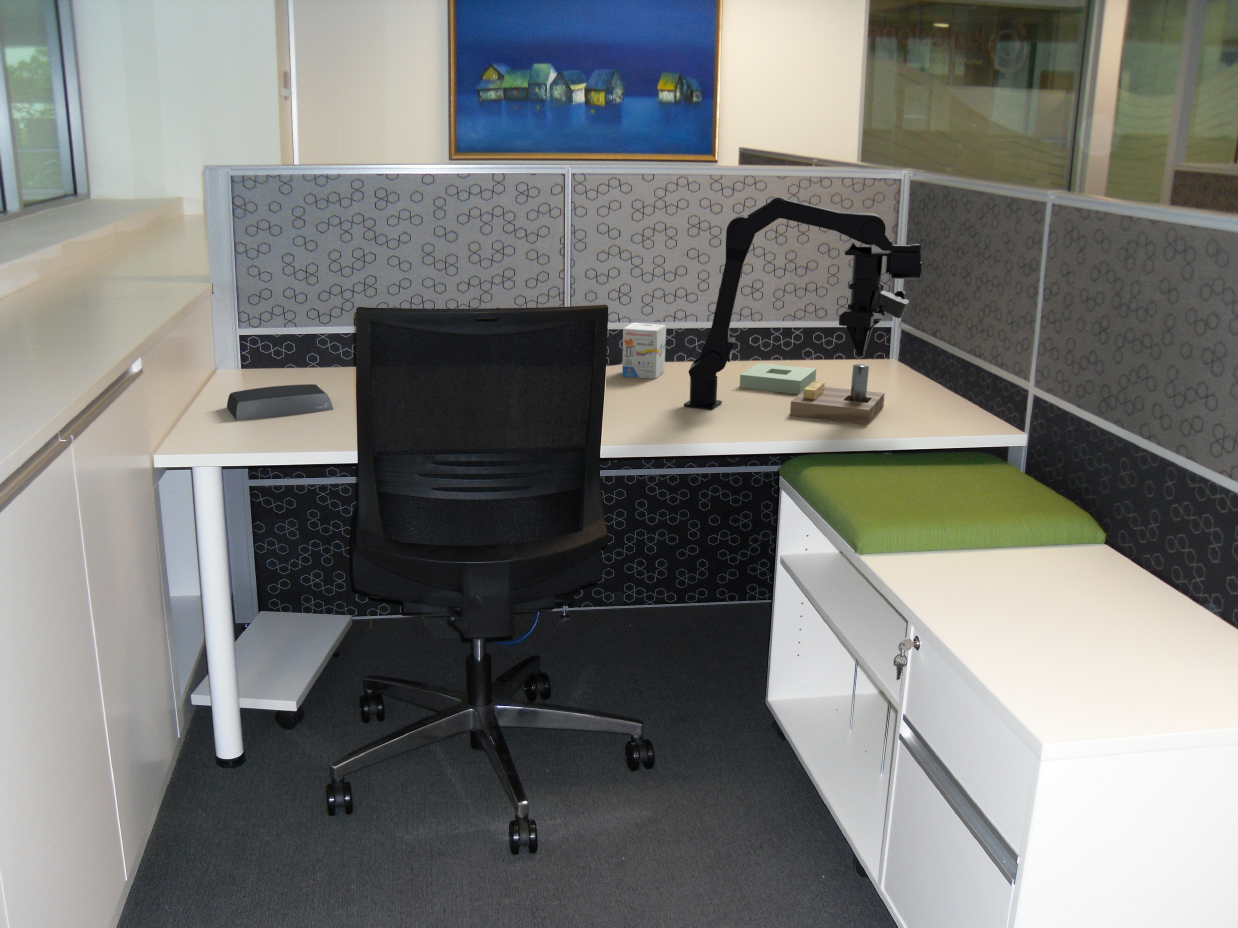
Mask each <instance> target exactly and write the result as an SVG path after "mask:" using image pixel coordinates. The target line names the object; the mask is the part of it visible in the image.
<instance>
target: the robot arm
mask: <svg viewBox="0 0 1238 928" xmlns="http://www.w3.org/2000/svg"><path fill="white" fill-rule="evenodd" d="M779 219H782V220H787V221H791V222H796V223H800V224H805V225H807V226H812V227H816V228H821V229H827V230H831V231H835V232H837V233H839V234H841V235H843V236H846V237H848V238H850V239H852V240H855V241H856V242H859V243H861V244H864V245H867V246H857V245H856V243H854V242H853V241H852V242H851V243H850V245H849V246H848V247H847V248H846V249H845V250H843V252H844V255H845V256H852V271H851V272H852V273H851V282H850V283H849V285H848V289H849V290H850V300H849V301H850V302H849V303H848V304H847V309H846V310H844V311H843V312H842V313H840V314H839V316H838V325H839V327H840V326H841V327H846V329H847V331H848V334H849V336H850V339H851V341H852V345H853V347H854V350H855V352H856V354H857V356H860V357H863V356H864V355H865V353H866V350H867V347H868V343H869V341H870V338H871V335H872V332H873V329H874V328H875V326H876V325H878V324H879V323H880V322H881V321H882V320H883V319H881V318H876V317H875V316H876V315H875V314H881V316H884V317H885V316H886V315H888V314H890V315H892V317H893V318H896V319H901V318H902V317H904V314H905V312H906V310H907V308H908V306H909V304H910V299H907V296H906V295H907V294H906V291H903V290H902V289H898V290H897V291H895V292H894V293H893V292H889V291H886V290H884V288H885V284H883V282H882V273H883V272H882V269H883V258H885V259H884V260H885V261H884V274H888V275H889V278H890V280H892V279H894V280H895V279H897V280H898V279H899V280H901V279H902V280H920V278H921V273H922V266H923V263H922V252H921V250H922V247H921V245H920V244H919V243H912V244H893V241H892V240H891V239H889V238H888V236H887V235H886V230H887V228H886V224H885V222H884V220H883V219H882V218H881V217H880V216H879V215H877V214H876V213H874V212H872V213H871V212H858V211H857V212H853V211H852V212H851V211H850V212H849V211H838V210H834V209H833V210H832V209H828V208H824V207H821V206H816V205H812V204H808V203H803V202H799V201H794V200H791V199H790V200H789V199H787V198H784V197H783V196H776V197H773V198H772V199H771V200H770V201H769V202H767V203H766V204H764V205H762V206H761V207H759V208H756V209H755V210H753V211H752V212H751V213H749V214H747V215H746V214H745V215H744V214H740V215H736V216H735V217H733V218H732V219H731V220H730V221H729V223H728V224H727V227H726V230H725V263H724V268H723V270H722V271H723V272H722V275H721V282H720V286H719V291H718V296H717V301H716V304H715V309H714V314H713V320H712V323H711V327H710V330H709V332H708V335H707V337H706V339H705V342H704V344H703V347H702V350H701V352H700V354H699V356H698V357H697V358H696V359H694V360H693V362H692V363H691V365H690V368H689V370H688V374H689V400H687V401H685V402H684V403H683V406H684V407H688V408H689V407H690V408H699V409H705V410H706V409H707V410H714V409H715V408H716V407H718V406H719V405H721V404H722V403H723V401H722V400H719V399H717V398H718V397H717V395H718V376H717V373H719V372H722V371H723V370H724V369H725V367H726V365H727V362H728V363H730V362H731V359H732V357H733V352H732V349H733V347H734V344H735V341H736V337H730V326H731V321H732V317H733V311H734V308H735V304H736V303H735V302H736V299H737V294H738V291H739V286H740V281H741V278H742V277H741V276H742V271H743V266H744V264H745V263H744V262H745V261H746V258H747V255H748V252H749V251H750V248H751V245H752V243H753V241H754V238H755V236H756V234H758V232H760V231H762V230H763V229H765V228H766V227H768V226H769V225H770V224H772V223H774V222H776V221H777V220H779ZM872 246H876V248H879V249H880V250H882V251H873V248H872Z"/></svg>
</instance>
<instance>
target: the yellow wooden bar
mask: <svg viewBox="0 0 1238 928" xmlns="http://www.w3.org/2000/svg"><path fill="white" fill-rule="evenodd" d="M825 383H826V382H825V381H817V380H816V381H813V382H812V383H811V384H809V385H808V386H807V387H806V388H805V389H804V394H803V399H812V400H815V399H816V398H817V397H818V396H820V395H821V394H822V393H823V392H824V387H825V385H826V384H825Z"/></svg>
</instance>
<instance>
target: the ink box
mask: <svg viewBox="0 0 1238 928" xmlns="http://www.w3.org/2000/svg"><path fill="white" fill-rule="evenodd" d="M666 338H667V325H666V324H653V323H646V322H645V323H643V322H632V323H630V324H628V325H627V326H625V327H623V328H622V371H621V372H622V374H621V375H622V377H623V378H624V377H626V378H640V379H651V380H653V379H654V380H656V379H658V377H660V376H662V374H663V373H664V372H665V368H666V366H665V365H666V363H665V362H666Z"/></svg>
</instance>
